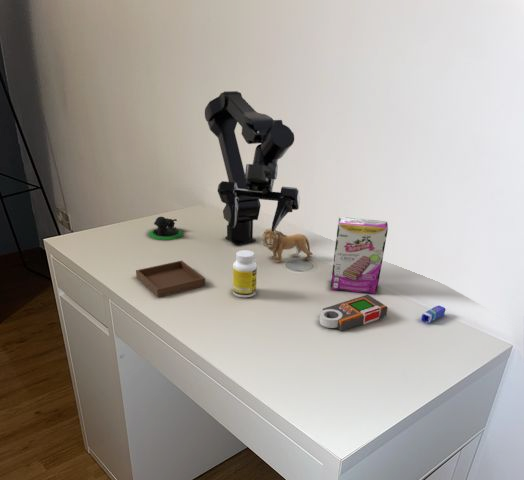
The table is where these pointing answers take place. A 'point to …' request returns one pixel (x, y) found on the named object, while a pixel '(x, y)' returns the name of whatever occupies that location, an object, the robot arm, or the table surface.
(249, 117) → the robot arm
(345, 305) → the electronic device
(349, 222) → the candy bar box
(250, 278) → the supplement bottle
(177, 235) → the toy figurine
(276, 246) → the lion figurine
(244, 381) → the table surface
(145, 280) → the tray
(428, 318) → the eraser
